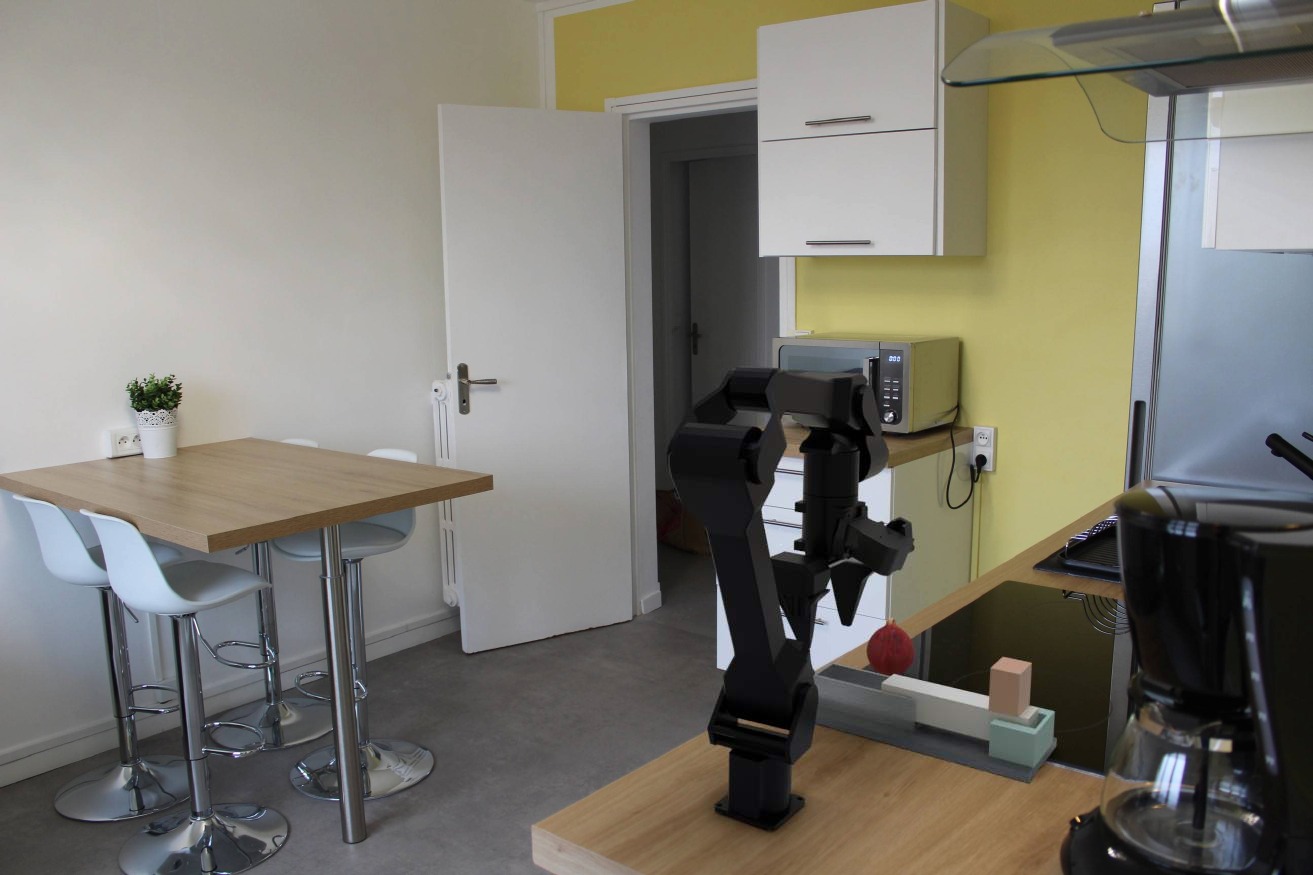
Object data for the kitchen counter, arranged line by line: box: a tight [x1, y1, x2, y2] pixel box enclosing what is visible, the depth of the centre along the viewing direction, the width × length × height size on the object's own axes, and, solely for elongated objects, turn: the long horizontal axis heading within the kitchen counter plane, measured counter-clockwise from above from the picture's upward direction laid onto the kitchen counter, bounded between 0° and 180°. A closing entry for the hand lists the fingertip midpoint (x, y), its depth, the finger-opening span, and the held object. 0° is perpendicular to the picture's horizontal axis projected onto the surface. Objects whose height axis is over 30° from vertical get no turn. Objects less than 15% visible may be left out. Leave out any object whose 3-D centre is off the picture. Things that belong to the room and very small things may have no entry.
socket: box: [989, 704, 1056, 768], centre depth 105 cm, size 7×4×4 cm, turn 144°
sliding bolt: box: [881, 656, 1039, 740], centre depth 109 cm, size 4×16×8 cm, turn 54°
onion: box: [866, 617, 915, 676], centre depth 126 cm, size 6×6×8 cm
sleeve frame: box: [813, 662, 1058, 784], centre depth 111 cm, size 10×26×4 cm, turn 54°
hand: (826, 636), depth 107 cm, fingers open, 9 cm apart
